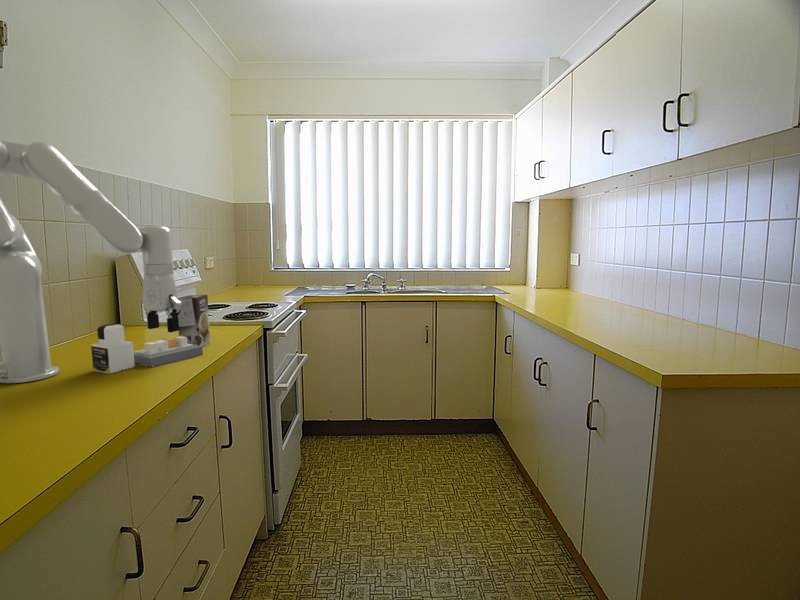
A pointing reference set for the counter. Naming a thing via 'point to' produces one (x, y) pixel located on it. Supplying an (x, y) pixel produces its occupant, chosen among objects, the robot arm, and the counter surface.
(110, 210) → the robot arm
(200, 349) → the breaker panel
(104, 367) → the medicine bottle
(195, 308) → the coffee box
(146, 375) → the counter surface
